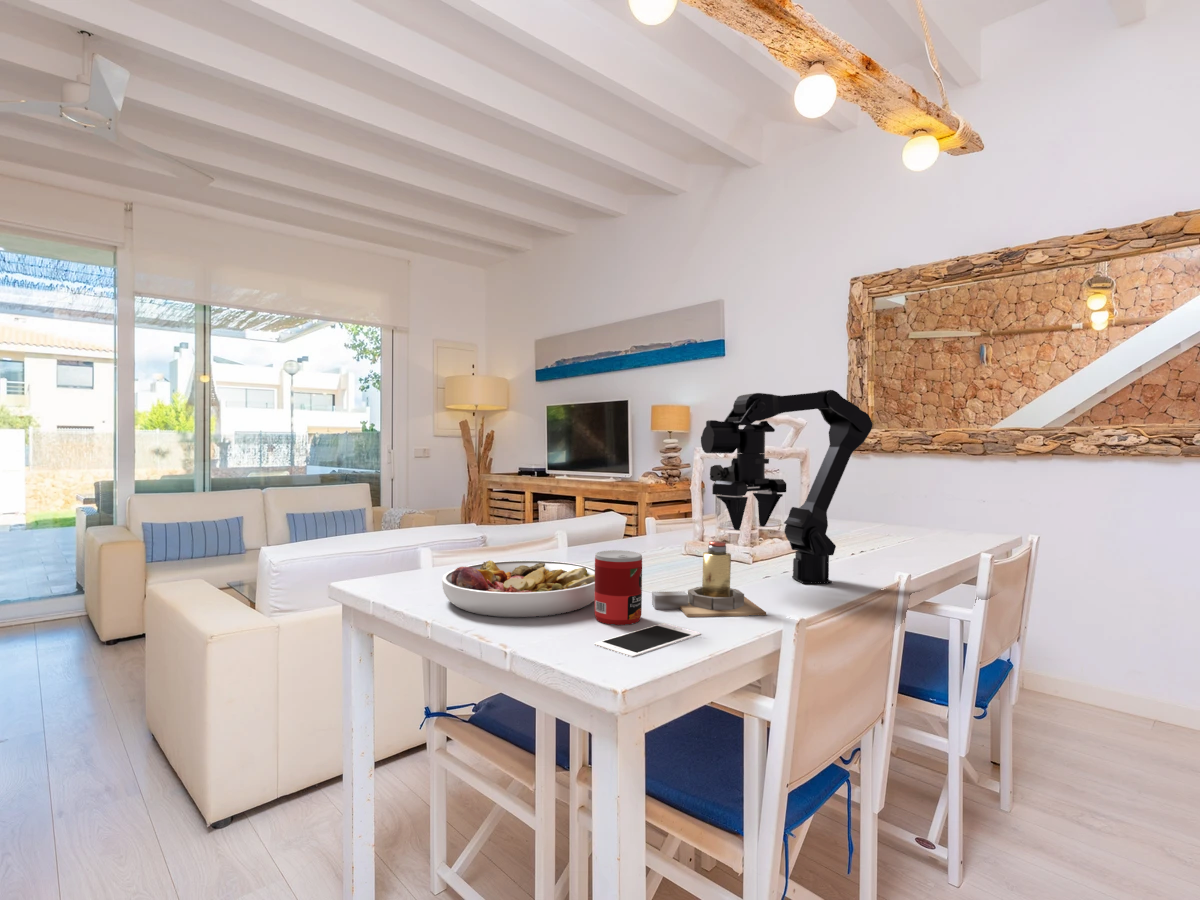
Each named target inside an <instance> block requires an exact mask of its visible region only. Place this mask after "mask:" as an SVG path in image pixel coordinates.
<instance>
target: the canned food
mask: <svg viewBox="0 0 1200 900" xmlns="http://www.w3.org/2000/svg"><path fill="white" fill-rule="evenodd" d="M642 556H643V555H642V553H640V552H636V551H630V550H618V549H617V550H616V549H615V550H602V551H598V552H596V553H595V557H594V568H595V600H594V617H595V620H596V621H598V622H599V623H601V622H602V624H605V623H606V624H605V625H611V624H615V625H614V626H626V625H625V624H629V625H633V624H632V623H634V624H636V622H637V623H639V621H640V620H641V617H642V614H643V613H642V606H643V605H642V601H643V598H642V597H643V557H642Z"/></svg>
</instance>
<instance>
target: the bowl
mask: <svg viewBox="0 0 1200 900" xmlns="http://www.w3.org/2000/svg"><path fill="white" fill-rule="evenodd" d="M441 582H442V583H441V584H442V585H441V586H442V590H443V594H444V595H445V597H446V599H447V600H448V601H449V602H450V603H451V604H452V605H453V606H455V607H457V608H459V609H461V610H463V611H466V612H469V613H473V614H477V615H483V616H487V615H488V617H499V618H537V617H536V616H539V617H548V615H549V616H556V615H555V614H557V615H560V614H561V613H562V614H566V612H567V613H570V612H575V611H577V609H578V610H580V609H582V608H584V607H587V606H589V605H590V604H592V603H593V602H595V567H592V566H588V565H584V564H580V563H573V562H566V561H554V560H553V561H552V560H534V559H533V560H531V559H530V560H526V559H525V560H523V559H522V560H503V561H493V560H487V561H483V563H482V562H481V563H477V564H471V565H470V564H469V565H467V566H466V565H465V566H458V567H456V568H455V569H454V568H453V569H452V570H449V571H448V572H446V573H445V574H444V575H443V576H442V581H441ZM574 610H575V611H574ZM562 614H561V615H562Z"/></svg>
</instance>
